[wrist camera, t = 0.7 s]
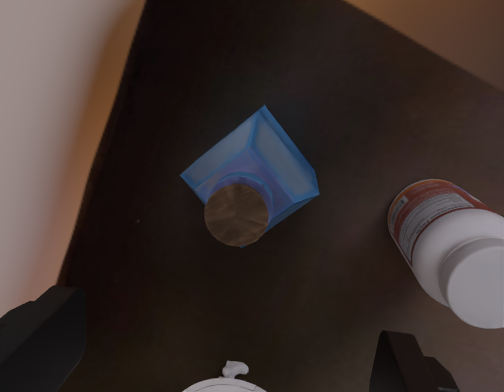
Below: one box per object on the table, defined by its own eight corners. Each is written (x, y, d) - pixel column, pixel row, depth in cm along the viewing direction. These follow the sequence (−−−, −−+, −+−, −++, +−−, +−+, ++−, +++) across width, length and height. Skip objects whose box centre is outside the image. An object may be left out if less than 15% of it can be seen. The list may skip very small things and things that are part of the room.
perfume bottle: (251, 216, 32) (228, 295, 21) (201, 155, 31) (148, 204, 20) (314, 170, 31) (326, 229, 19) (264, 105, 30) (245, 126, 18)
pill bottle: (479, 237, 31) (574, 323, 21) (399, 263, 32) (451, 356, 22) (457, 164, 30) (547, 215, 19) (374, 193, 31) (417, 257, 20)
